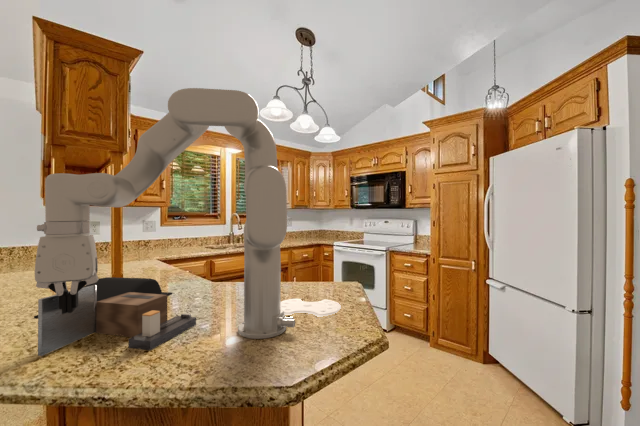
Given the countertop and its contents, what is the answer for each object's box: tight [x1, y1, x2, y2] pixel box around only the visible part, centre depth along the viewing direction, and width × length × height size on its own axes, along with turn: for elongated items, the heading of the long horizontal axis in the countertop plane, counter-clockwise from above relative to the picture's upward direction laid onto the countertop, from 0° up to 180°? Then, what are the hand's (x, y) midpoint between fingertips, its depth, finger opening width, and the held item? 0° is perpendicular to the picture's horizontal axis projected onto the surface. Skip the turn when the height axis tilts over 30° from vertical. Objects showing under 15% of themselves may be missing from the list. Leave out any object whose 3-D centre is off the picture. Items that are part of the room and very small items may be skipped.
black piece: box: [33, 276, 173, 319], centre depth 101 cm, size 24×8×30 cm
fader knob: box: [142, 310, 160, 337], centre depth 70 cm, size 2×3×5 cm
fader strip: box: [127, 313, 197, 351], centre depth 75 cm, size 6×16×3 cm, turn 167°
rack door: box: [37, 285, 97, 357], centre depth 69 cm, size 13×2×12 cm, turn 172°
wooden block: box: [95, 292, 168, 338], centre depth 79 cm, size 13×10×8 cm
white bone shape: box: [281, 297, 341, 317], centre depth 97 cm, size 20×2×25 cm
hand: (68, 311), depth 66 cm, fingers closed
